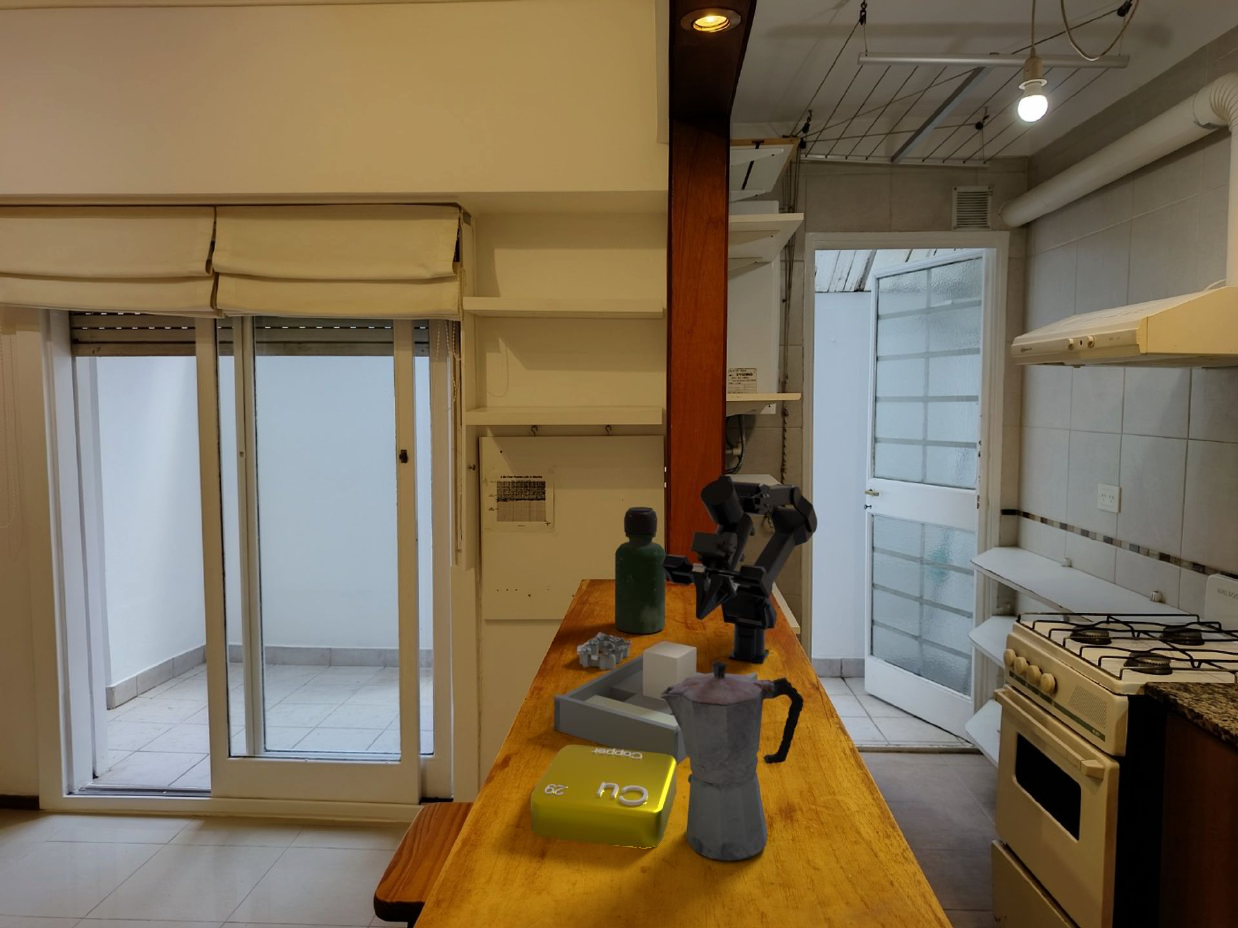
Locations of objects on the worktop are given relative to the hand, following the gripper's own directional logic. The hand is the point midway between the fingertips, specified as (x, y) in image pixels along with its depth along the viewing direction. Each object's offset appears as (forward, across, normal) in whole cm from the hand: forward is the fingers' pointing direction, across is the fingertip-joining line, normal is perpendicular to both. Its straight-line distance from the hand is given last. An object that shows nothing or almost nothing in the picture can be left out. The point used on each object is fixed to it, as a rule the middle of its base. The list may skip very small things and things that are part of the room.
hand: (698, 618), depth 128 cm
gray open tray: (+17, 0, 0) cm, 17 cm away
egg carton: (+6, -21, +11) cm, 25 cm away
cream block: (+13, 0, 0) cm, 13 cm away
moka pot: (+34, +23, -17) cm, 45 cm away
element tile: (+36, +8, -18) cm, 41 cm away
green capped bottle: (-8, -26, +26) cm, 38 cm away
